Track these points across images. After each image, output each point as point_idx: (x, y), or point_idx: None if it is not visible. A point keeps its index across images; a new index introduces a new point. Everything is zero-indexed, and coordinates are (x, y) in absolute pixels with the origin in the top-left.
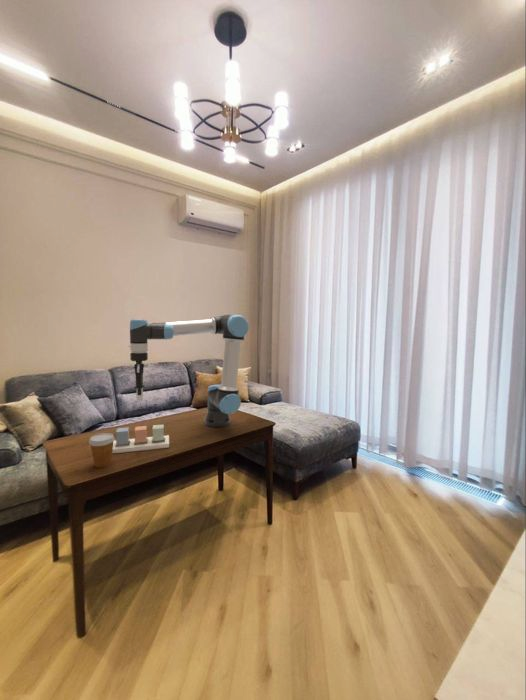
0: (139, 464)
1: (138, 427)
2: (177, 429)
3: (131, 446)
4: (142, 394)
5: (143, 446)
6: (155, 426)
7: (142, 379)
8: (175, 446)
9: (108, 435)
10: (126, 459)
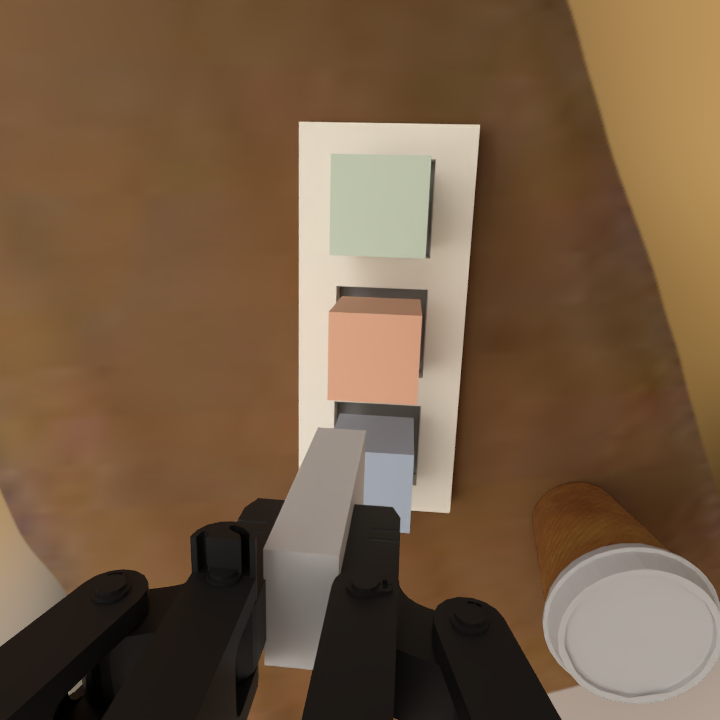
0: (669, 328)
1: (352, 376)
2: (114, 46)
3: (439, 391)
4: (354, 482)
5: (464, 314)
6: (367, 232)
7: (40, 690)
8: (467, 79)
9: (606, 597)
10: (562, 405)
